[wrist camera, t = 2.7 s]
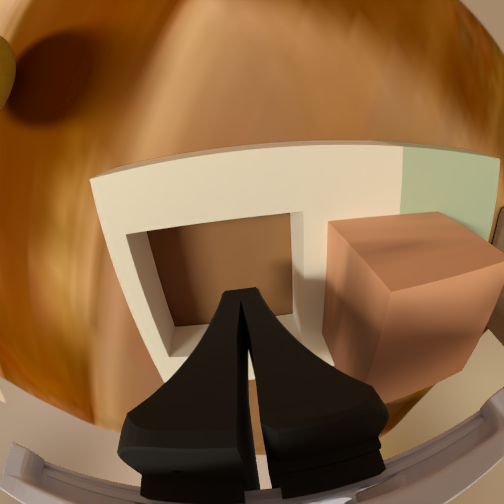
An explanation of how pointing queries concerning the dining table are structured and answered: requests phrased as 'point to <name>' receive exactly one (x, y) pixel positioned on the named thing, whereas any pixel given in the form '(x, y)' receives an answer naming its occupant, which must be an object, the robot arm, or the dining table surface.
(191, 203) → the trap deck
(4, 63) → the lemon
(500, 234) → the wooden block
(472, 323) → the block
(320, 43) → the dining table surface
